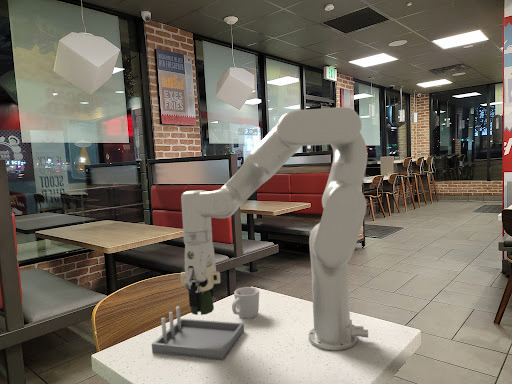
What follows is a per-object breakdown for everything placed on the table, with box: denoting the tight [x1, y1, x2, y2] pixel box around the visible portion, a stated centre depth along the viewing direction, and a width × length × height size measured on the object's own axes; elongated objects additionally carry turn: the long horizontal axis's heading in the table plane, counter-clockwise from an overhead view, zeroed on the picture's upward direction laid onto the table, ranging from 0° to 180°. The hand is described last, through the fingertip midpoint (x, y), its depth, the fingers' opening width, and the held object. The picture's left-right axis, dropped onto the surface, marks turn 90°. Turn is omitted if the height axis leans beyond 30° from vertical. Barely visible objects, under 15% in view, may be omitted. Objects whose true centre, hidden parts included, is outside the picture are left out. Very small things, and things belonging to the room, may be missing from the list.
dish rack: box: [151, 305, 245, 362], centre depth 101 cm, size 20×16×8 cm
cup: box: [231, 286, 260, 319], centre depth 117 cm, size 11×8×8 cm
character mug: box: [180, 264, 221, 316], centre depth 100 cm, size 11×7×13 cm, turn 83°
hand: (201, 300), depth 100 cm, fingers closed on character mug, 7 cm apart
